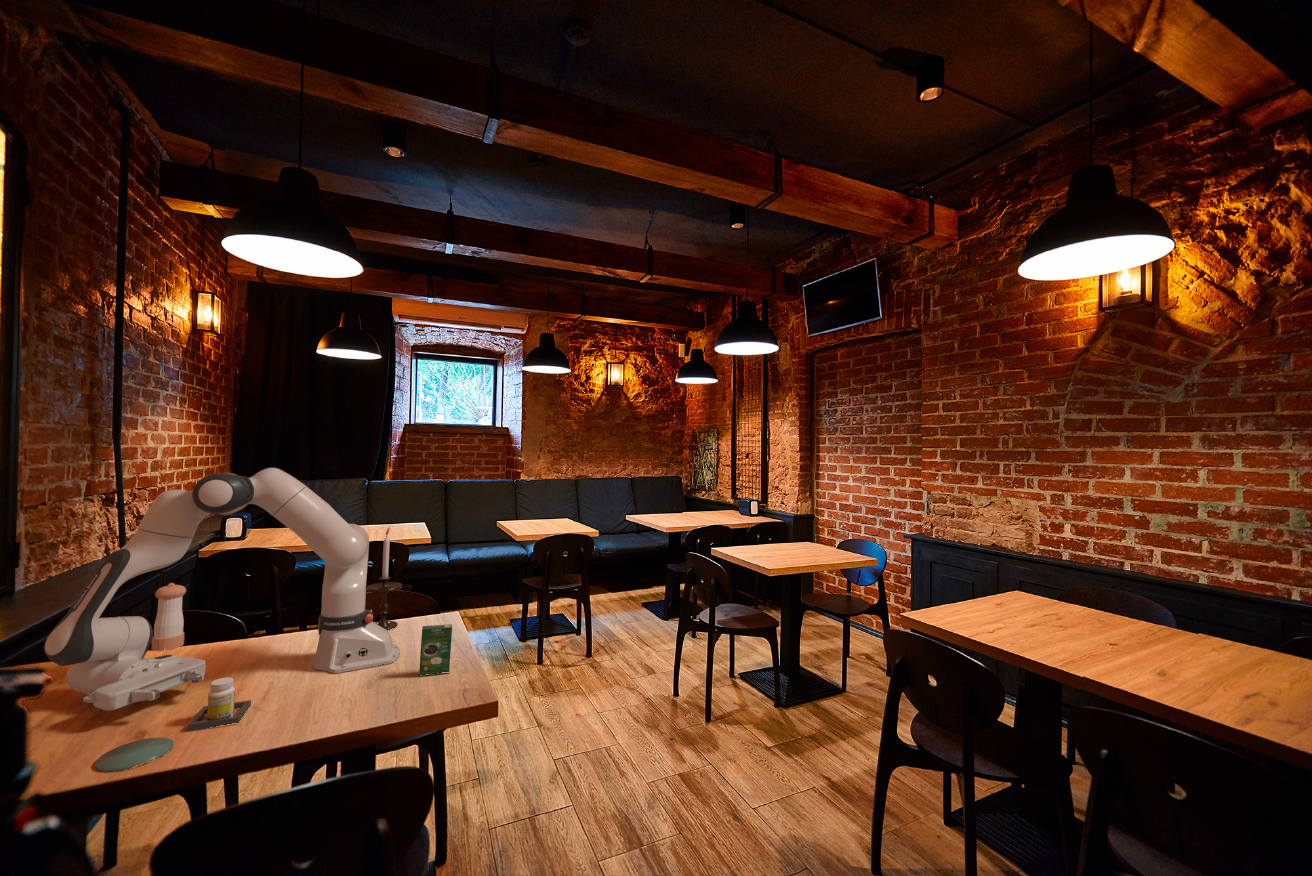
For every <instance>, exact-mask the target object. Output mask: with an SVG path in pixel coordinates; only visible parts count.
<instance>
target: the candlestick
mask: <svg viewBox="0 0 1312 876" xmlns="http://www.w3.org/2000/svg"><path fill="white" fill-rule="evenodd" d="M390 528H391V527H390V526H388V528H387V531H386V533H385V538H384V539H383V550H382V572H381V573H382V574H381V577H379V578H378V580H381V582H377V583H376V582H375V583H372V584H369V585H366V592H369V593H374V594H375V593H376V594H378V593H379V594H381V603H380V604H379V609H380V612H379V615H380V616H381V617H380V618H381V619H380V620H379V621H376V622H375V623H376V624H377V623H378V624H377V625H379V626H381V627H382V628H384V629H386V630H389V631H391V630H390V629H392V628H395V627H396V626H397V627H398V625H399V624H398V622H397V621H396V620H395V621H393V620H387V618H386V616H387V614H388V611H387V609H388V607H389V603H387V594H388V593H390V592H395V591H399V590H401V589H402V587H403V583H401V582H399V581H397V582H396V581H389V580H391V579H392V577H391V576H389V566H390V565H389V564H390V542H391V540H390V538H389V532H390V530H391V529H390ZM388 622H390V623H388ZM397 627H396V628H397ZM396 628H395V629H396ZM392 630H393V629H392Z"/></svg>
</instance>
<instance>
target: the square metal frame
mask: <svg viewBox="0 0 1312 876" xmlns="http://www.w3.org/2000/svg"><path fill="white" fill-rule="evenodd" d="M250 706H252V700H251V699H250V700H241V701H234V709H237V708H240V709H239V710H238V711H237V713H236V714H235V715H234V716H232V717H228V718H221V719H213V720H207V719H206V720H203V719H204V718H205V717H207V715H206V714H207V709H208V705H204V706H203V707H202V708H201V709H200V710H199V711H198V712H197V713H196V714H195V715H194V717H193V718H192V719H191V720H190V721H189V722H188V724H187V725H186V732H187V733H188V732H195V731H201V729H202V730H207V729H206V728H209V729H211V728H210V727H216V726H220V725H227V724H232V723H240V722H241V721H242V720H241V718H242V717H243V716H244V717H245V715H246V714H247V712H248V711H249V710H248V708H249V707H250ZM250 708H251V707H250ZM250 708H249V709H250ZM247 710H248V711H247ZM246 711H247V712H246ZM245 713H246V714H245ZM244 714H245V715H244ZM244 717H243V718H244ZM243 718H242V719H243ZM240 720H241V721H240ZM239 721H240V722H239ZM216 728H217V727H216Z"/></svg>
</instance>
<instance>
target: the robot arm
mask: <svg viewBox="0 0 1312 876" xmlns="http://www.w3.org/2000/svg"><path fill="white" fill-rule="evenodd" d="M250 504H251V505H256V506H257V507H259V508H262V509H264V510H265V511H266V512H267V513H269V514H270V515H271V516H273V518H274V519H276V520H277V521H279V522H280V523H281V524H282V525H284V526H285V527H286V528H287V529H289V530H290V531H291V532H293V533H294V534H295V535H297V536H298V537H299V538H300V539H301V540H302V541H303V542H304V543H305V544H306V546H308V547H309V549H311V550H312V551H313V552H314V553H315V554H316V555H317V556H318V557H319V558H320V559H321V560H323V562H325V565H324V574H323V581H322V586H321V590H322V592H321V612H320V614H319V615H318V616H319V617H318V624H317V625H318V629H317V631H318V636H319V637H318V642H317V647H316V652H315V655H314V657H313V661H312V664H311V666H312V668H313V669H315V670H319V671H325V672H329V673H331V674H339V673H345V672H350V671H356V670H363V669H368V668H373V667H377V666H378V665H379V666H383V665H382V664H384V665H389V664H392V662H393V663H394V662H396V661H397V660H398V659H399V658H400V656H399V655H401V648H400V647H399V645H396V644H393V639H392V636H391V633H390V630H389V631H388V630H386V629H384V628H382V627H381V626H379V625H377V624H376V622H374V621H373V619H374V615H373V610H372V609H370V610H369V609H368V608H366V596H367V594H366V593H367V574H368V564H369V551H370V550H369V548H370V536H369V534H368V532H367V530H366V529H365V528H363V527H362V526H361V525H359V524H355V523H348V522H347V521H346V520H345V519H344V518H343V517H342V516H341V515H340V514H339V513H338V512H337V511H336V510H335V509H334V508H333V507H332V506H331V505H330V504H329V503H328V502H327V501H325V500H324V499H323V498H321V496H319V495H318V494H316V493H315V492H314V491H313V490H312V489H310V487H308V486H307V485H305V483H302V481H300V480H298V479H297V478H296V477H294V476H292V475H291V474H289V473H287V472H285V471H284V470H282V469H280V468H276V467H267V468H264V469H262V470H260V471H258V472H257V473H255V474H254V475H253V476H250V477H247V476H244V475H239V474H235V473H230V472H216V473H215V472H214V473H210V474H208V475H205V476H203V477H201V478H200V479H199V480H198V481H197V482H196V483H195V485H194V486H193V488H192V490H186V489H170V490H169V489H168V490H165V491H163V492H161V493H159V495H157V497H156V498H155V499H154V501H153V502H152V503H151V504H150V506H149V508H148V509H147V511H146V513H145V514H144V515H143V517H142V519H141V520H140V523H139V525H138V527H137V530H136V531H135V533H133V536H132V537H131V538H130V540H129V541H127V542H126V543H125V544H124V545H123V546H122V547H121V548H119V549H118V550H114V551H113V552H111V553H110V554H109V555H108V556H107V557H105V558H104V560H103V561H102V563H101V564H100V565H99V567H97V570H96V571H95V572H94V574H93V575H92V576H91V578H90V579H89V581H88V583H87V584H86V585H85V586H84V588H83V590H82V591H81V593H80V594H79V595H78V597H77V598H76V600H75V601H74V602H73V604H72V606H71V607H70V608H69V610H68V611H67V613H66V614H65V615H64V617H62V619H61V620H60V621H59V622H58V623H57V624H56V625H55V626H54V628H52V630H51V631H50V632H49V633H48V635H47V636H46V638H45V641H44V644H43V651H44V654H45V656H46V657H47V658H48V659H49V660H50V661H51V662H52V663H54V664H56V665H57V666H60V667H61V666H62V667H67V666H69V668H68V670H67V672H66V674H65V675H66V676H65V680H66V682H67V684H68V686H69V687H70V688H71V689H72V690H73V691H75V692H78V693H81V694H83V695H86V696H85V697H83V698H82V700H83V703H89V704H92V703H93V704H92V705H93V707H94V708H97V709H100V710H103V711H106V712H108V711H116V710H119V709H122V708H123V707H125V706H129V705H131V704H135V703H138V702H144V701H149V702H152V701H155V700H157V699H159V698H160V697H161V695H160V694H161V693H163V692H165V691H168V690H171V689H172V688H176V687H178V686H181V685H183V684H186V683H189V682H191V683H192V684H193V683H195V684H198V683H200V682H203V681H204V679H205V675H206V671H207V669H206V668H207V664H206V660H204V659H201V658H195V657H187V656H181V657H179V655H178V654H176V653H172V654H171V653H170V654H164V655H159V656H155V657H145V656H146V654H147V652H148V651H149V649H150V648H151V646H152V638H153V636H154V629H153V626H152V624H151V623H150V622H149V620H148V619H147V618H145V617H143V616H141V615H137V616H135V615H133V616H114V617H101V615H102V614H103V613H104V611H105V609H106V607H107V606H108V604H109V603H110V602H111V600H112V599H113V598H114V595H115V594H116V592H118V590H119V588H120V587H121V586H122V585H123V584H124V583H126V582H127V581H129V580H131V579H133V578H135V577H138V576H139V575H142V574H146V573H149V572H152V571H156V570H161V569H163V568H166V567H169V566H171V565H173V564H175V563H177V562H178V561H179V560H181V559H182V558H183V557H184V555H186V553H187V551H188V550H189V548H190V546H191V544H192V542H193V539H194V536H195V534H196V531H197V529H198V527H199V525H200V524H201V522H202V520H203V519H205V517H207V516H209V515H230V514H234V513H237V512H241V511H242V510H244V509H246V508H247V507H248V506H249V505H250ZM398 657H399V658H398ZM397 658H398V659H397ZM395 660H396V661H395ZM372 666H373V667H372ZM379 666H378V667H379Z"/></svg>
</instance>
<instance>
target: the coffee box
mask: <svg viewBox="0 0 1312 876" xmlns="http://www.w3.org/2000/svg"><path fill="white" fill-rule="evenodd" d="M452 638H453V625H452V624H449V623H448V624H438V625H437V624H436V625H435V624H434V625H423V626H422V629H421V639H420V656H419V671H418V676H419V677H421V676H420V675H426V674H437V673H442V672H449V673H450V671H451V667H450V665H451V654H452ZM437 675H438V674H437Z"/></svg>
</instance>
